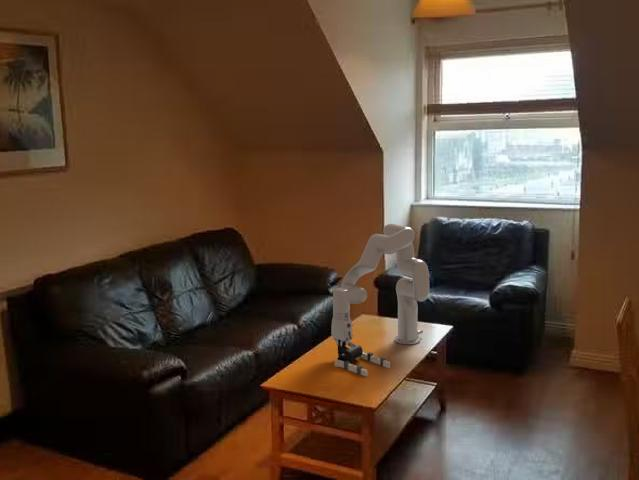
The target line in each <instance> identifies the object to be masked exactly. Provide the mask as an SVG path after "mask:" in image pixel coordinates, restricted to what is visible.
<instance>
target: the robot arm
mask: <svg viewBox="0 0 639 480" xmlns="http://www.w3.org/2000/svg"><path fill="white" fill-rule="evenodd" d="M382 231H383V234H380V233H373V234H372V235H371V236H369V238H368V241H367V243H366V245H365V248H364V250H363V252H362V254H361V256H360V259H359V260H358V262H357V263H355V265H353V266H352V267H351V268H350V269H349V270H348V271H347V272H346V274H345V275H344V277H343V279H342V282H341V284H340V287H336V288H334V289H333V290H332V291H333V292H332V310H333V311H332V319H331V326H330V327H331V329H330V330H331V337H332V339H333V340H334V341H335V342H336V346H337V355H338V354H339V353H340V354H344V353H342V352H340V348H341V347H343V346H346V345H347V344H350V342H351V340H353V339H354V337H353V333H354V332H353V331H354V330H353V323H352V322H353V321H352V320H351V313H350V312H351V311H350V310H351V309H350V308H351V306H350V305H351V304H361V303H363V302H365V300H366V299H367V298H368V292H367V291H366V289H365V288H363V287H361V286H359V285H356V283H357V282H358V280H359V279H360V278H361V277H362V276H364V275H366V274H369V273H371V272H374V271H375V270H377V267H378V266H379V263H380V260H381V258H382V256H383V254H385V255H393V254H395V253H396V265H397V272H398V274H400V275H401V276H404V277H402V278H400V279H399V280H398V281H397V282H396V285H395V291H396V296H397V298H396V299H397V336H395V337H394V342H396V343H398V344H399V345H409V346H410V345H417V344H418V343H420V342H421V337H420V336H419V335H421V334H423V333H424V330H423V329H418V312H419V311H418V309H419V308H418V307H419V306H418V302H425V301H426V300H427V299H428V297H429V296H430V276H429V275H430V274H429V267H428V265H427V263H426V262H425V261H424V260H422V259H421V258H420V259H418V258H416V256H415V249H414V243H413V242H414V240H415V237H416V234H415V231H414V229H413V228H411V227H410V226H405V225H401V224H395V223H388V224H386V225H385V226H384V227H383V230H382Z"/></svg>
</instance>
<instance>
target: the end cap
mask: <svg viewBox="0 0 639 480" xmlns="http://www.w3.org/2000/svg"><path fill="white" fill-rule="evenodd" d="M346 345H347V346H349V347H347V346H346ZM346 345H345V346H343V347H341V348H340V352H342V353H344V354H340V353H339V354H338V353H337V359H336V360H341V361H346V360H347V361H350V363H351V362H353V361H355V360H357V359H358V358H361V355H362V353H363V351H364V350H363V347H362V346H361V345H360V344H358V345H356V344H354V343H352V342H351V341H350V344H346Z"/></svg>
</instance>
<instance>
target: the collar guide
mask: <svg viewBox="0 0 639 480" xmlns="http://www.w3.org/2000/svg"><path fill="white" fill-rule="evenodd" d="M360 358H361V359H362V360H366V361H369V362H370V363H374V364H377V365H379V366H381V367H385V368H388V369H389V368H391V361H388V360H387V357H385V356H381V357H379V356H375V355H374V353H373V352H371V351H369V352H367V353H366V352H364V350H363V353H362V355H361V356H360ZM334 367H340V368H343V369H344V370H346V371H347V370H348V371H351V372H353V373H356V375H359V376H360V375H361V376H364V377H368V374H369V371H368V369H366V368H363V367H364V366H362V365H355V364H351V362H350V361H347V360H346V361H341V360H338V359H335V360H334Z"/></svg>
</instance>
